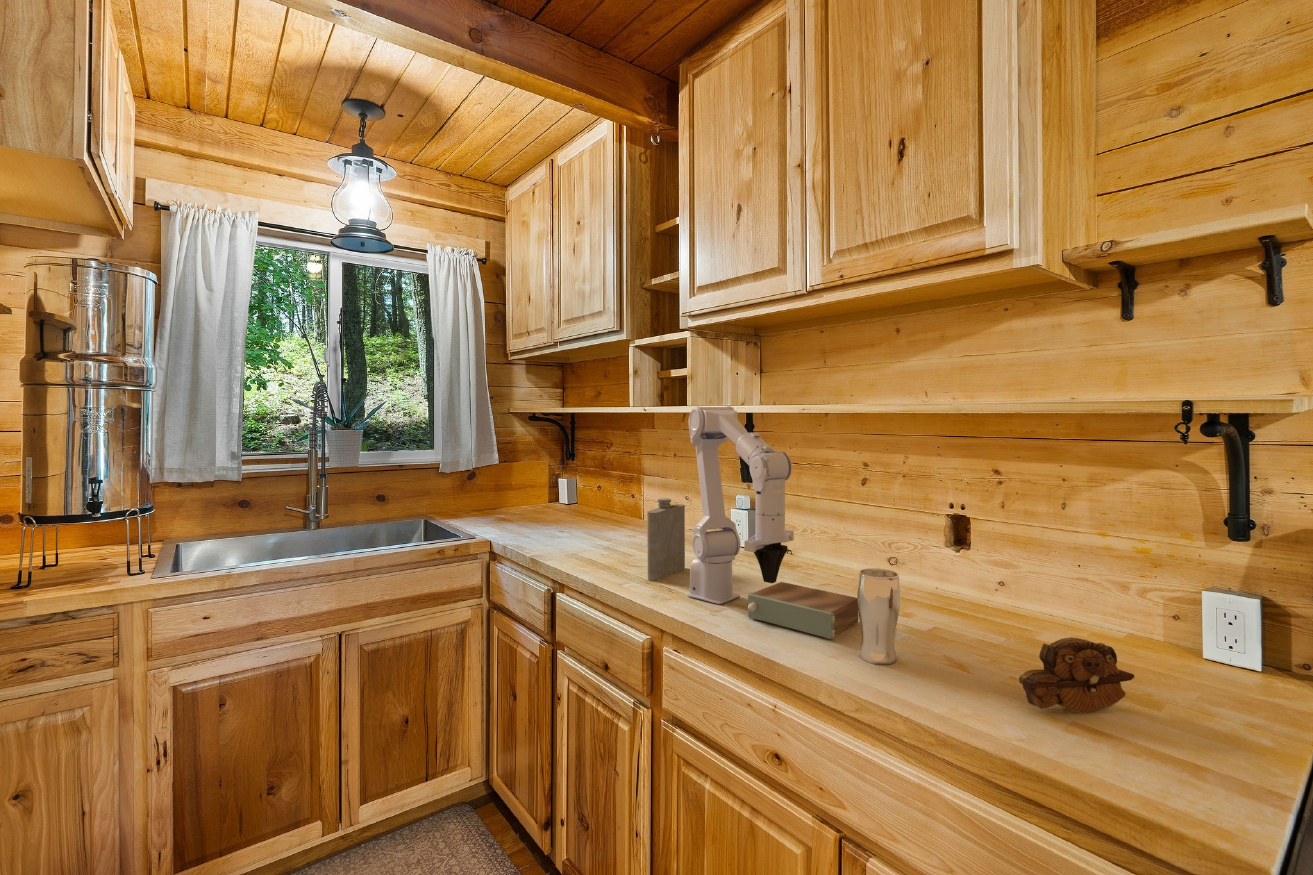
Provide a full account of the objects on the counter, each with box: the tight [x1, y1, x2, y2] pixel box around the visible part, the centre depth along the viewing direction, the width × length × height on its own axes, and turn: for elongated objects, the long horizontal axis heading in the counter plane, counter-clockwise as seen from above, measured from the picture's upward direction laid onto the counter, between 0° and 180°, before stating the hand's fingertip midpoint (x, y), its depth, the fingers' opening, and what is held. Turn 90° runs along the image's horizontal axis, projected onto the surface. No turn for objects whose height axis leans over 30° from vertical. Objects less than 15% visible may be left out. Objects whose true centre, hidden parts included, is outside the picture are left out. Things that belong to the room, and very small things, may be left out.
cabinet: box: [750, 581, 859, 637], centre depth 128 cm, size 18×12×5 cm, turn 47°
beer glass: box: [856, 567, 901, 666], centre depth 108 cm, size 7×7×15 cm
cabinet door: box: [747, 593, 836, 640], centre depth 122 cm, size 19×2×5 cm, turn 47°
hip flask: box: [646, 497, 686, 582], centre depth 165 cm, size 16×4×20 cm, turn 148°
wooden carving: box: [1018, 637, 1135, 714], centre depth 89 cm, size 16×5×10 cm, turn 101°
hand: (769, 581), depth 123 cm, fingers closed
